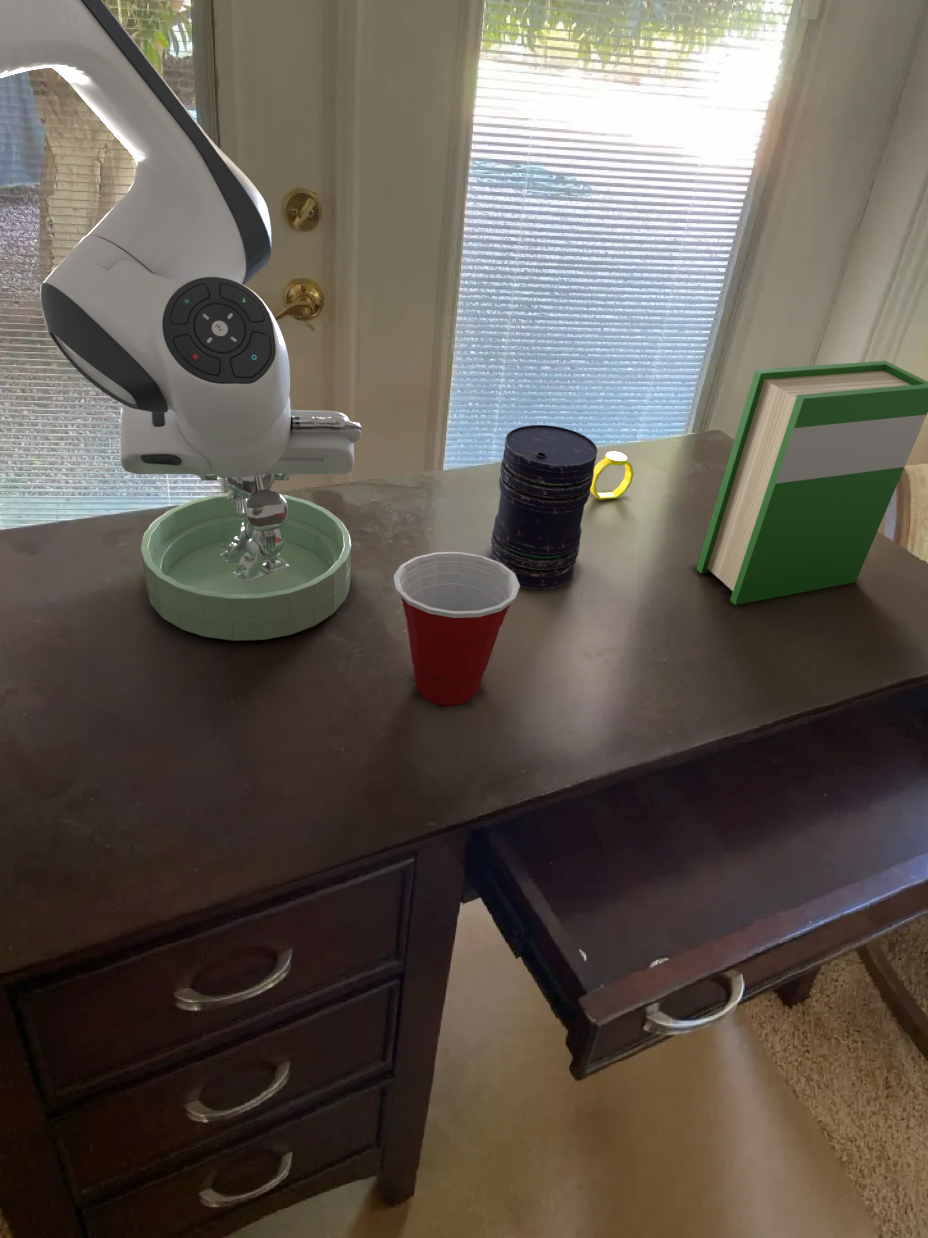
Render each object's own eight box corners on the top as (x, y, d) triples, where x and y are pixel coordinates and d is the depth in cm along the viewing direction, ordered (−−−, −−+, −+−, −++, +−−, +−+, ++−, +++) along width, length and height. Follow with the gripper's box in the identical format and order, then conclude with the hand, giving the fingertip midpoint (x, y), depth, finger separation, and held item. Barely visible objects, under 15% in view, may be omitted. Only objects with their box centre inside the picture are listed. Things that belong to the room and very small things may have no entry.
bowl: (136, 649, 82) (128, 600, 79) (158, 535, 99) (153, 491, 95) (356, 642, 86) (357, 595, 83) (343, 534, 102) (344, 491, 99)
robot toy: (201, 528, 94) (182, 392, 86) (258, 516, 97) (244, 383, 88) (245, 598, 84) (228, 451, 75) (307, 583, 86) (297, 439, 78)
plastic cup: (479, 641, 88) (492, 537, 81) (522, 712, 80) (540, 604, 73) (373, 657, 85) (378, 550, 78) (407, 733, 77) (415, 622, 70)
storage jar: (508, 534, 106) (525, 416, 97) (586, 558, 103) (610, 439, 94) (474, 572, 98) (489, 449, 90) (556, 600, 96) (580, 475, 87)
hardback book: (735, 604, 98) (803, 398, 84) (696, 569, 103) (755, 369, 89) (855, 582, 104) (938, 386, 90) (813, 549, 110) (885, 360, 96)
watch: (593, 505, 114) (601, 463, 110) (581, 495, 116) (589, 453, 112) (631, 499, 116) (641, 457, 113) (619, 489, 118) (628, 448, 115)
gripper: (362, 385, 75) (352, 442, 88) (104, 379, 71) (135, 440, 84) (365, 457, 74) (354, 503, 87) (104, 456, 70) (135, 504, 83)
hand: (245, 472), depth 86 cm, fingers closed on robot toy, 5 cm apart
